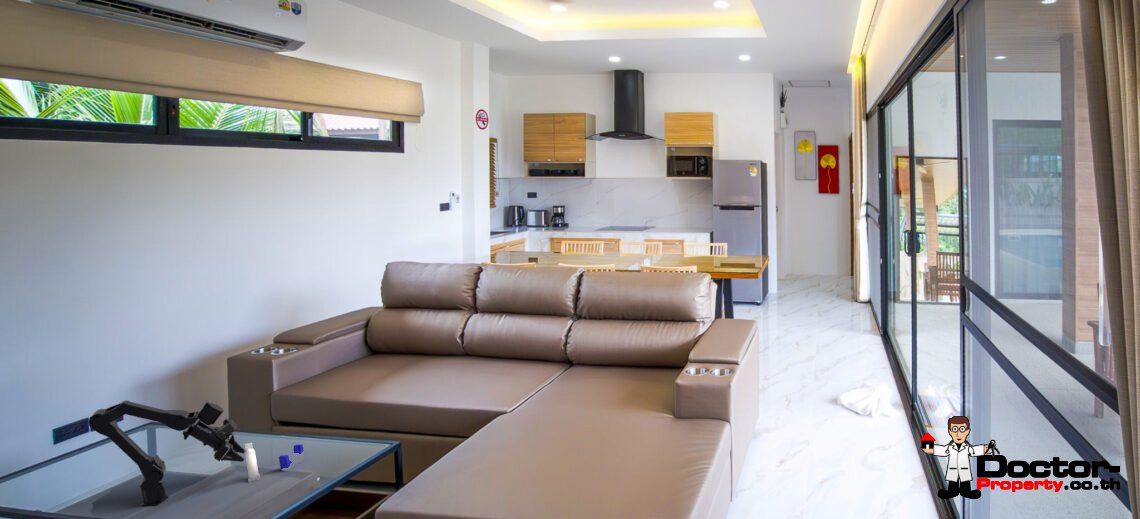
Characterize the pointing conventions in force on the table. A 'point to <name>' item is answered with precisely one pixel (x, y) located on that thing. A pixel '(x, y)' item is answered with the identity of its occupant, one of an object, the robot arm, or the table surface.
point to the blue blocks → (285, 459)
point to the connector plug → (251, 463)
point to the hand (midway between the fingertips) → (244, 456)
